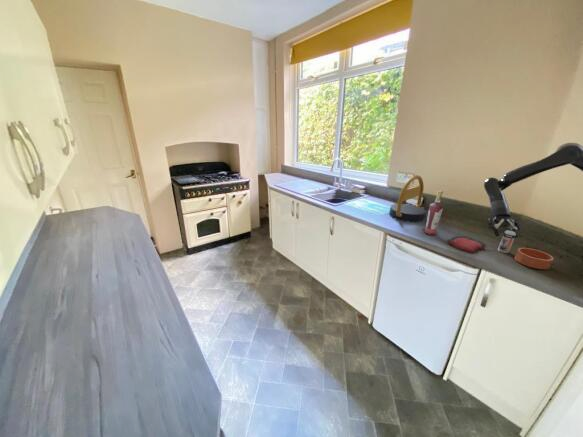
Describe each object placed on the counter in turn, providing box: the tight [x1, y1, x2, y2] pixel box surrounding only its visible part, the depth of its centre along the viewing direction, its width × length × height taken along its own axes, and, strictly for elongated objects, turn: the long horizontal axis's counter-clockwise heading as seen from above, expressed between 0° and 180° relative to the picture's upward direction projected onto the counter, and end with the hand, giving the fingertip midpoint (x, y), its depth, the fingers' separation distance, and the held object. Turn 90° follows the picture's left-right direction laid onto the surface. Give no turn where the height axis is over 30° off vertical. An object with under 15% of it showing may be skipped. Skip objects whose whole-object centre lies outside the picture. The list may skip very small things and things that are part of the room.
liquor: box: [423, 189, 445, 236], centre depth 145 cm, size 7×7×28 cm
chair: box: [388, 174, 427, 223], centre depth 173 cm, size 25×35×32 cm
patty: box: [447, 237, 484, 254], centre depth 134 cm, size 18×14×2 cm
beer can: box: [497, 229, 516, 254], centre depth 126 cm, size 5×5×12 cm
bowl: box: [514, 247, 554, 270], centre depth 116 cm, size 13×13×6 cm
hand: (506, 236), depth 126 cm, fingers open, 8 cm apart
